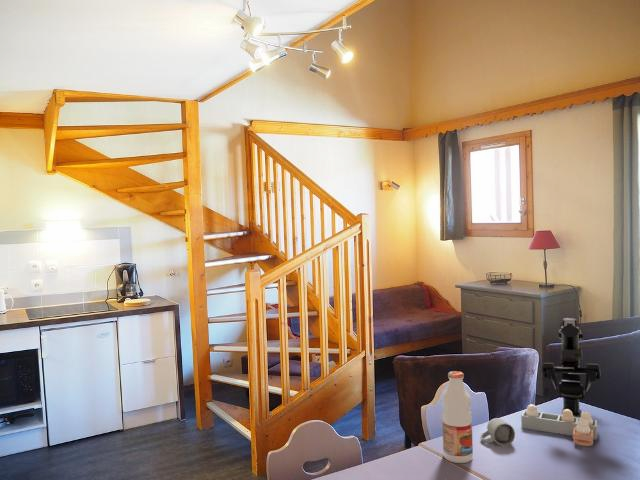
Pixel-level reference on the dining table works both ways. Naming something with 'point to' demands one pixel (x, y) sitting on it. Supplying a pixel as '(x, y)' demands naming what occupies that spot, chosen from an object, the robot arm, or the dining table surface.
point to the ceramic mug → (499, 432)
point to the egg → (583, 427)
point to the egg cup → (583, 438)
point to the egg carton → (555, 421)
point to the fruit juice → (457, 421)
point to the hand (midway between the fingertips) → (571, 390)
